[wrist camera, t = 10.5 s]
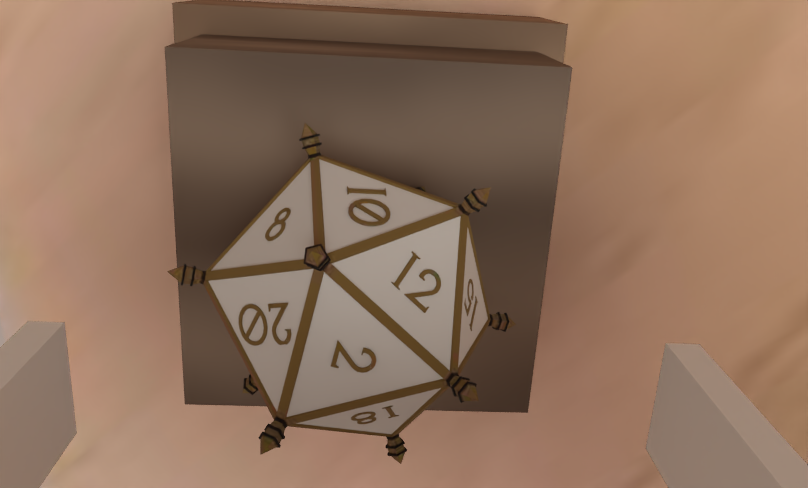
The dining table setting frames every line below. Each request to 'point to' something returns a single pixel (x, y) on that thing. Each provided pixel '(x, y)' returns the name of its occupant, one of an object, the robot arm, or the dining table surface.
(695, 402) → the robot arm
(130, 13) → the dining table surface
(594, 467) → the dining table surface
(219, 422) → the dining table surface
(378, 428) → the game die
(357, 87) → the walnut tower base
